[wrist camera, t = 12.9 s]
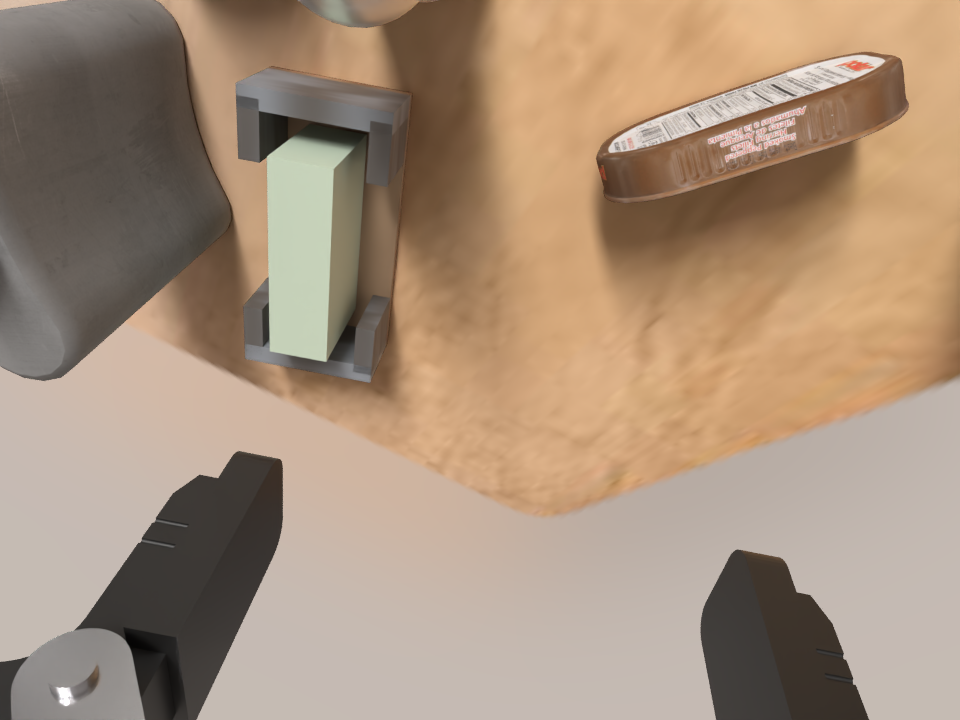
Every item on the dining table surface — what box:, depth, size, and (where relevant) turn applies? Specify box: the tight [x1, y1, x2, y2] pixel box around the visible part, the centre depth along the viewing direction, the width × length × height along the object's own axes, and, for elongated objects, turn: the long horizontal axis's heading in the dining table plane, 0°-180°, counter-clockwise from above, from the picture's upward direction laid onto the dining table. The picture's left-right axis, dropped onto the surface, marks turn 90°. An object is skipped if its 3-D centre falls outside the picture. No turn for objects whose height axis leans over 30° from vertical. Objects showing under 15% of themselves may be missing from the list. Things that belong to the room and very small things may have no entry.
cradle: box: [236, 66, 412, 383], centre depth 42 cm, size 8×17×5 cm, turn 171°
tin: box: [596, 52, 909, 203], centre depth 35 cm, size 15×3×8 cm, turn 110°
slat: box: [267, 124, 367, 362], centre depth 41 cm, size 4×12×7 cm, turn 171°
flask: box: [0, 0, 231, 381], centre depth 34 cm, size 15×6×20 cm, turn 4°
